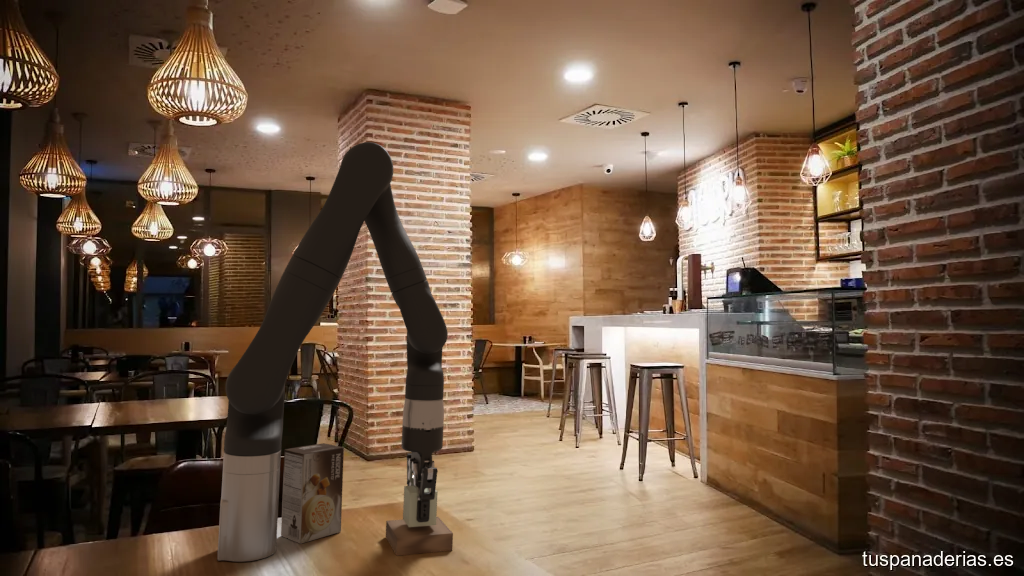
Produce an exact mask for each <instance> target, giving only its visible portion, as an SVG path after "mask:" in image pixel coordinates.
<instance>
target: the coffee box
mask: <svg viewBox="0 0 1024 576" xmlns="http://www.w3.org/2000/svg"><path fill="white" fill-rule="evenodd" d="M344 450H345V448H344V446H338V445H333V444H329V443H323V442H322V443H317V444H312V445H311V444H310V445H303V446H297V447H291V448H285V449H284V451H283V453H284V454H283V478H282V481H283V482H282V500H281V501H282V502H281V523H280V524H281V527H280V536H281V537H282V536H283V537H282V538H285V539H287V538H288V539H287V540H289V541H290V540H291V541H292V542H295V543H297V544H304V543H308V542H311V541H316V540H317V539H321V538H324V537H329V536H330V535H331V536H332V535H334V534H338V533H341V532H342V515H343V514H342V511H343V509H342V507H343V505H342V504H343V486H344V485H343V481H344V479H343V477H344Z"/></svg>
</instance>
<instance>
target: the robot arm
mask: <svg viewBox="0 0 1024 576" xmlns="http://www.w3.org/2000/svg"><path fill="white" fill-rule="evenodd" d="M393 164H394V163H393V160H392V158H391V155H390V153H389V152H388V150H387V149H385V148H384V146H383V145H380V144H378V143H376V142H370V141H366V142H360V143H358V144H355V145H353V146H352V147H351V148H350V149H347V151H346V153H345V154H344V155H343V157H342V159H341V164H340V166H339V169H338V172H337V174H336V177H335V180H334V181H333V184H332V187H331V189H330V191H329V194H328V196H327V198H326V200H325V202H324V205H323V206H322V208H321V209H320V211H319V212H318V214H317V216H316V217H315V218H314V220H313V221H312V222H311V224H310V226H309V227H308V229H307V230H306V232H305V233H304V235H303V236H302V238H301V240H300V241H299V244H298V245H297V247H296V248H295V251H294V252H293V254H292V256H291V257H290V259H289V261H288V263H287V265H286V267H285V268H284V270H283V272H282V275H281V276H280V279H279V281H278V283H277V285H276V287H275V289H274V293H273V295H272V297H271V300H270V302H269V305H268V308H267V311H266V312H265V316H264V318H263V320H262V322H261V325H260V326H259V329H258V331H257V332H256V334H255V336H254V337H253V338H252V341H251V342H250V344H249V345H248V347H247V349H245V351H244V352H243V354H242V356H241V357H240V359H239V360H238V362H237V363H236V364H235V365H234V367H232V369H231V371H230V372H229V374H228V375H227V378H226V381H225V393H226V398H227V400H228V404H227V419H226V426H225V434H224V437H223V438H224V442H223V461H222V476H221V477H222V479H221V480H222V481H221V495H220V496H221V497H220V502H219V503H220V505H219V507H220V508H219V522H218V524H219V525H218V543H217V561H228V562H242V563H243V562H251V561H257V560H262V559H265V558H268V557H271V556H272V555H273V554H275V553H276V551H277V541H278V535H277V534H278V519H279V518H278V517H279V499H280V498H279V497H280V496H279V495H280V478H281V463H282V462H281V460H282V458H281V455H282V442H283V441H282V440H283V430H284V410H285V409H284V408H285V393H286V392H285V391H286V382H287V380H288V377H289V374H290V371H291V369H292V365H293V364H294V361H295V359H296V356H297V354H298V352H299V350H300V348H301V347H302V344H303V343H304V341H305V339H306V338H307V337H308V335H309V334H310V332H311V331H312V329H313V327H314V326H315V325H316V323H317V322H318V321H319V319H320V317H321V315H322V314H323V313H324V311H325V310H326V308H327V306H328V304H329V302H330V301H331V299H332V298H333V295H334V294H335V292H336V290H337V288H338V286H339V284H340V282H341V279H342V278H343V276H344V274H345V271H346V269H347V267H348V265H349V263H350V260H351V258H352V255H353V252H354V248H355V247H356V246H355V245H356V244H357V239H358V236H359V234H360V232H361V229H362V226H364V225H363V224H364V223H365V226H366V227H367V229H368V232H369V234H370V237H371V240H372V242H373V246H374V248H375V251H376V255H377V256H378V257H377V258H378V260H379V263H380V266H381V270H382V272H383V275H384V277H385V281H386V282H387V286H388V288H389V290H390V293H391V295H392V299H393V301H394V302H395V304H396V306H397V307H398V309H399V311H400V313H401V314H400V315H401V317H402V320H403V323H404V326H405V329H406V366H407V368H406V376H405V377H406V378H405V386H404V387H405V391H404V397H405V398H404V402H403V403H404V404H403V408H402V409H403V410H402V426H401V428H402V429H401V448H402V450H404V451H405V452H408V453H406V486H414V487H415V488H416V489H417V517H416V520H417V521H418V522H428V521H429V513H430V500H434V497H435V489H436V487H437V486H436V485H437V477H438V472H439V471H438V467H435V461H434V460H433V453H435V452H439V451H441V450H442V449H443V445H444V424H445V423H444V422H445V421H444V419H445V407H444V389H445V375H444V370H443V367H442V365H443V348H444V346H445V345H446V343H447V340H448V336H449V335H448V328H447V325H446V322H445V319H444V316H443V314H442V312H441V310H440V308H439V306H438V304H437V302H436V300H435V298H434V296H433V294H432V291H431V288H430V284H429V281H428V279H427V274H426V273H425V270H424V267H423V265H422V262H421V259H420V258H419V257H420V256H419V255H418V253H417V251H416V248H415V247H414V245H413V243H412V241H411V239H410V238H409V237H410V236H409V235H408V234H407V231H406V230H405V228H404V225H403V223H402V221H401V219H400V216H399V214H398V211H397V207H396V204H395V199H394V195H393V192H392V191H393V190H392V185H391V182H392V180H393V177H394V165H393ZM426 488H427V492H428V493H424V490H425V489H426ZM436 490H437V489H436Z"/></svg>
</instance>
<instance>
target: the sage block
mask: <svg viewBox="0 0 1024 576" xmlns="http://www.w3.org/2000/svg"><path fill="white" fill-rule="evenodd" d="M403 487H404V488H403V504H402V505H403V506H402V508H403V510H402V511H403V512H402V519H403V520H404V521H405V523H406V524H407V525H408V527H418V526H430V525H436V517H438V516H437V515H438V514H437V512H438V492H439V491H438V490H437V489H435V497H434V500H430V513H429V521H428V522H418V521H417V520H416V517H417V489H416V488H415V487H414V486H407V485H404V486H403ZM424 493H428V492H427V488H426V489H425V490H424Z"/></svg>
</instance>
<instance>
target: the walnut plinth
mask: <svg viewBox="0 0 1024 576" xmlns="http://www.w3.org/2000/svg"><path fill="white" fill-rule="evenodd" d="M385 539H386V540H387V542H388V543H389V545H390V548H391V549H392V550H393V552H394V554H395V556H397V557H398V556H406V555H417V554H426V553H436V552H437V553H438V552H446V551H449V552H450V551H453V543H454V542H453V539H454V533H453V531H452V530H451V529H450V528H449V527H448V525H446V523H444V522H443V520H442V519H441V518H440V517H439V516H436V525H430V526H418V527H408V525H407V524H406V523H405V521H404V520H403V518H402V519H390V520H386V521H385Z"/></svg>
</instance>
